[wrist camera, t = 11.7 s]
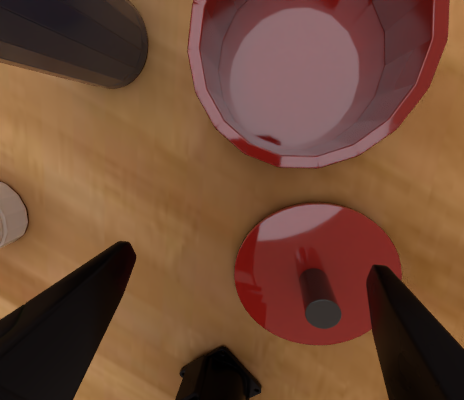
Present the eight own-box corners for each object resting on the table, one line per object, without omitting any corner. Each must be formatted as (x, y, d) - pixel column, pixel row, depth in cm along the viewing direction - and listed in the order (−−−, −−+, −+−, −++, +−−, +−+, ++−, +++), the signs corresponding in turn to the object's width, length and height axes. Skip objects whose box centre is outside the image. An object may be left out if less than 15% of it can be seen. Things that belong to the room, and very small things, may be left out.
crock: (165, 45, 18) (-7, -93, 7) (110, 106, 20) (-96, 76, 9) (104, -32, 18) (-203, -331, 6) (53, 39, 19) (-254, -90, 8)
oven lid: (428, 291, 20) (476, 342, 16) (294, 356, 24) (299, 413, 19) (333, 166, 19) (355, 178, 14) (206, 256, 23) (189, 290, 18)
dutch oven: (431, 77, 16) (506, 53, 11) (278, 189, 20) (281, 210, 15) (321, -91, 15) (349, -209, 10) (178, 62, 19) (141, 36, 13)
